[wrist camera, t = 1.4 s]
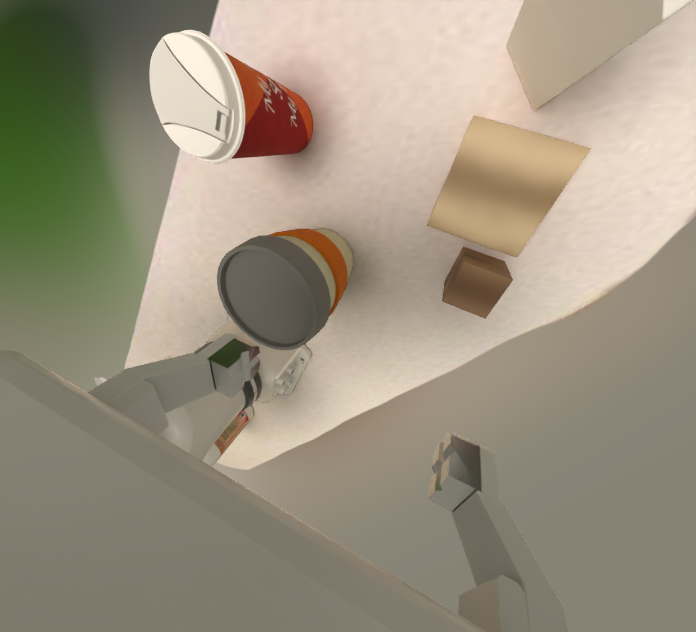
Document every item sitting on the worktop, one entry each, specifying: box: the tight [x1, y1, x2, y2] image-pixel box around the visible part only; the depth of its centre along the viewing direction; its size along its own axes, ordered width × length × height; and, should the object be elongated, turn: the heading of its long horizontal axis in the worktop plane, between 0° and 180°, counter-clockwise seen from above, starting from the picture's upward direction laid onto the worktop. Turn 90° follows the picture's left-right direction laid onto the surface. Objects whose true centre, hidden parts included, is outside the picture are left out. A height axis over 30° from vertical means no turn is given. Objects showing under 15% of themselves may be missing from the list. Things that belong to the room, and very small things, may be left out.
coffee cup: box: [150, 30, 313, 164], centre depth 25 cm, size 8×8×15 cm
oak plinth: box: [427, 116, 591, 257], centre depth 26 cm, size 10×10×3 cm
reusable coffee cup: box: [217, 229, 353, 350], centre depth 33 cm, size 13×13×15 cm
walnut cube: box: [442, 247, 513, 318], centre depth 30 cm, size 5×5×6 cm
